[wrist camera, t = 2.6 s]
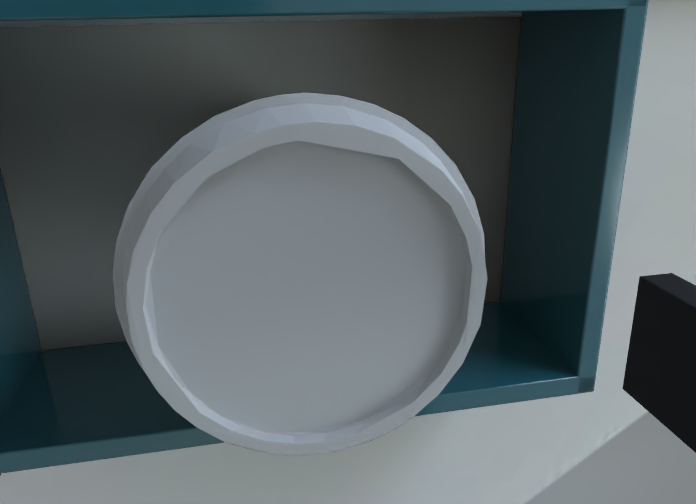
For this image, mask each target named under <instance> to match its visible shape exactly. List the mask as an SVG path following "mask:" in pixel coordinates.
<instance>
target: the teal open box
mask: <svg viewBox="0 0 696 504" xmlns="http://www.w3.org/2000/svg"><path fill="white" fill-rule="evenodd" d="M647 7H648V0H0V27H21V26H71V25H120V24H170V23H220V22H269V21H319V20H369V19H418V18H468V17H518V16H521V29H520V42H519V56H518V70H517V84H516V97H515V111H514V125H513V138H512V152H511V166H510V180H509V193H508V207H507V221H506V234H505V248H504V262H503V276H502V289H501V302H495V303H485V304H484V305H483V312H482V319H481V325H480V327H479V329H478V331H477V333H476V336H475V338H474V340H473V342H472V344H471V347H470V349H469V351H468V353H467V355H466V358H465V360H464V362H463V364H462V365H461V367H460V368H459V369H458V370H457V372H456V373H455V374H454V376H453V377H452V378H451V379H450V381H449V382H448V383H447V385H446V386H445V387H444V389H443V390H442V391H441V392H440V394H439V395H438V396H437V397H436V398H434V399H433V400H432V401H431V402H430V403H429V404H428V405H426V406H425V407H424V408H423V409H422V410H421V411H419V412H418V413H417V414H416V415H415V416H419V415H426V414H434V413H441V412H448V411H455V410H462V409H470V408H477V407H484V406H491V405H499V404H506V403H513V402H520V401H528V400H535V399H542V398H549V397H557V396H564V395H571V394H578V393H586V392H592V391H594V385H595V378H596V370H597V363H598V356H599V349H600V341H601V334H602V327H603V320H604V313H605V306H606V299H607V292H608V284H609V277H610V270H611V263H612V256H613V249H614V242H615V235H616V227H617V220H618V213H619V206H620V199H621V192H622V185H623V178H624V170H625V163H626V156H627V149H628V142H629V135H630V128H631V121H632V114H633V106H634V99H635V92H636V85H637V78H638V71H639V64H640V57H641V49H642V42H643V35H644V28H645V21H646V14H647ZM216 443H224V441H222V440H220V439H218V438H216V437H214V436H212V435H210V434H208V433H207V432H205V431H203V430H201V429H199V428H197V427H196V426H194V425H193V424H192V423H190V422H189V421H188V420H186V419H185V418H184V417H183V416H181V415H180V414H179V413H177V412H176V411H175V410H174V409H173V408H172V407H171V406H170V405H169V404H168V402H167V401H166V400H165V399H164V398H163V397H162V396H161V395H160V394H159V392H158V391H157V390H156V389H155V387H154V386H153V384H152V382H151V381H150V379H149V378H148V376H147V375H146V373H145V371H144V370H143V369H142V367H141V366H140V365H139V363H138V362H137V360H136V358H135V356H134V354H133V352H132V351H131V349H130V347H129V345H128V343H127V342H121V343H111V344H102V345H93V346H83V347H74V348H65V349H55V350H46V351H42V350H41V346H40V341H39V337H38V332H37V328H36V324H35V319H34V315H33V310H32V306H31V302H30V297H29V293H28V289H27V284H26V280H25V275H24V271H23V267H22V262H21V258H20V253H19V249H18V245H17V240H16V236H15V232H14V227H13V223H12V218H11V214H10V210H9V205H8V201H7V196H6V192H5V188H4V183H3V179H2V175H1V170H0V473H6V472H14V471H21V470H28V469H35V468H43V467H50V466H57V465H64V464H71V463H79V462H86V461H93V460H100V459H108V458H115V457H122V456H129V455H137V454H144V453H151V452H158V451H166V450H173V449H180V448H187V447H195V446H202V445H209V444H216Z"/></svg>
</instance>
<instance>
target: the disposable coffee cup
mask: <svg viewBox="0 0 696 504" xmlns="http://www.w3.org/2000/svg"><path fill="white" fill-rule="evenodd" d="M112 275H113V287H114V298H115V309H116V312H117V315H118V318H119V321H120V324H121V327H122V330H123V333H124V336H125V338H126V341H127V343H128V345H129V347H130V349H131V351H132V352H133V354H134V356H135V358H136V360H137V362H138V363H139V365H140V366H141V367H142V369H143V370H144V371H145V373H146V375H147V376H148V378H149V379H150V381H151V382H152V384H153V386H154V387H155V389H156V390H157V391H158V392H159V394H160V395H161V396H162V397H163V398H164V399H165V400H166V401H167V402H168V404H169V405H170V406H171V407H172V408H173V409H174V410H175V411H176V412H177V413H179V414H180V415H181V416H183V417H184V418H185V419H186V420H188V421H189V422H190V423H192V424H193V425H194V426H196V427H197V428H199V429H201V430H203V431H205V432H207V433H208V434H210V435H212V436H214V437H216V438H218V439H220V440H222V441H224V442H226V443H230V444H233V445H237V446H241V447H244V448H248V449H252V450H257V451H261V452H266V453H270V454H275V455H311V454H320V453H329V452H336V451H339V450H342V449H345V448H348V447H352V446H355V445H358V444H361V443H364V442H368V441H371V440H373V439H375V438H377V437H379V436H381V435H383V434H385V433H387V432H389V431H391V430H393V429H395V428H397V427H398V426H400V425H401V424H403V423H404V422H406V421H407V420H409V419H410V418H412V417H413V416H415V415H416V414H417V413H418V412H419V411H421V410H422V409H423V408H424V407H425V406H426V405H428V404H429V403H430V402H431V401H432V400H433V399H434V398H436V397H437V396H438V395H439V394H440V392H441V391H442V390H443V389H444V387H445V386H446V385H447V383H448V382H449V381H450V379H451V378H452V377H453V376H454V374H455V373H456V372H457V370H458V369H459V368H460V367H461V365H462V364H463V362H464V360H465V358H466V355H467V353H468V351H469V349H470V347H471V344H472V342H473V340H474V338H475V336H476V333H477V331H478V329H479V327H480V325H481V319H482V312H483V305H484V299H485V292H486V285H487V279H488V278H487V271H486V265H485V244H484V232H483V228H482V225H481V221H480V217H479V213H478V209H477V205H476V202H475V199H474V197H473V195H472V193H471V191H470V190H469V188H468V186H467V184H466V182H465V181H464V179H463V177H462V175H461V173H460V171H459V170H458V168H457V166H456V165H455V163H454V162H453V161H452V160H451V159H450V158H449V157H448V156H447V155H446V153H445V152H444V151H443V150H442V149H441V148H440V147H439V146H438V144H437V143H436V142H435V141H434V140H433V139H432V138H431V137H429V136H428V135H427V134H425V133H424V132H422V131H421V130H420V129H418V128H417V127H416V126H414V125H413V124H411V123H410V122H409V121H407V120H406V119H404V118H403V117H401V116H399V115H396V114H394V113H392V112H390V111H388V110H385V109H383V108H381V107H379V106H377V105H375V104H372V103H368V102H364V101H360V100H356V99H353V98H349V97H345V96H339V95H328V94H317V93H306V92H305V93H295V94H285V95H277V96H272V97H267V98H261V99H257V100H254V101H251V102H248V103H246V104H243V105H240V106H238V107H235V108H233V109H230V110H228V111H225V112H223V113H220V114H217V115H215V116H213V117H212V118H210V119H209V120H207V121H206V122H204V123H203V124H201V125H200V126H198V127H197V128H195V129H194V130H192V131H191V132H189V133H188V134H186V135H185V136H183V137H182V138H181V139H179V140H178V141H177V142H176V143H175V144H174V145H173V146H172V147H171V148H170V149H169V150H168V151H167V152H166V153H165V154H164V155H163V156H162V157H161V158H160V159H159V160H158V161H157V162H156V163H155V164H154V165H153V166H152V167H151V169H150V170H149V172H148V173H147V175H146V176H145V178H144V179H143V181H142V183H141V184H140V186H139V188H138V189H137V191H136V193H135V194H134V196H133V198H132V199H131V201H130V203H129V204H128V207H127V210H126V213H125V216H124V219H123V222H122V225H121V228H120V231H119V234H118V237H117V240H116V246H115V255H114V264H113V273H112Z"/></svg>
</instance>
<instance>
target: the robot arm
mask: <svg viewBox="0 0 696 504" xmlns="http://www.w3.org/2000/svg"><path fill="white" fill-rule="evenodd" d="M623 389H624V390H625V391H626V392H627V393H628V394H629V395H630V396H632V397H633V398H634V399H635V400H636V401H637V402H638V403H640V404H641V405H642V406H643V407H644V408H645V409H646V410H648V411H649V412H650V413H651V414H652V415H653V416H655V417H656V418H657V419H658V420H659V421H660V422H661V423H662V424H664V425H665V426H666V427H667V428H668V429H669V430H670V431H672V432H673V433H674V434H675V435H676V436H677V437H678V438H680V439H681V440H682V441H683V442H684V443H685V444H686V445H688V446H689V447H690V448H691V449H692V450H693V451H694V452H696V286H695V285H693V284H692V283H690V282H688V281H686V280H684V279H682V278H680V277H678V276H676V275H674V274H672V273H669V274H660V275H650V276H640V278H639V285H638V291H637V298H636V305H635V311H634V318H633V324H632V331H631V337H630V344H629V351H628V357H627V364H626V370H625V377H624V383H623ZM0 475H1V473H0Z"/></svg>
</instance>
